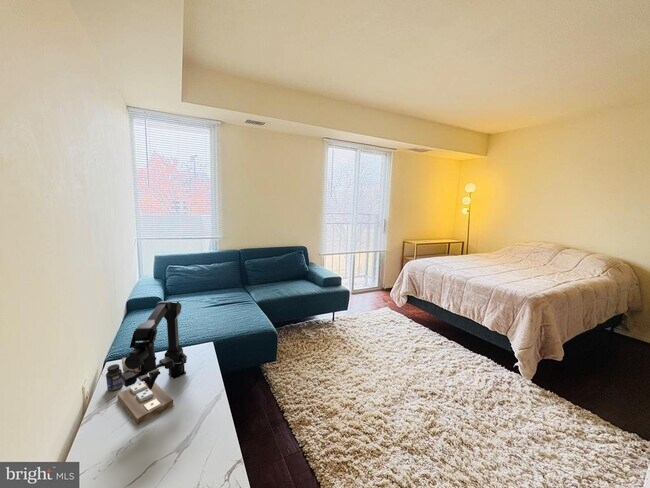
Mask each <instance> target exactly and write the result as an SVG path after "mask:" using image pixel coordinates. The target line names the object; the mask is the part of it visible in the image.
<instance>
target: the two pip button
mask: <svg viewBox="0 0 650 488" xmlns="http://www.w3.org/2000/svg"><path fill="white" fill-rule="evenodd" d="M143 382H144V381H143ZM143 382H141V381H140V382H139V383H135V384H132V385H130V386H129V388H130V392H131V393H132V394H133V395H135V394H137V393H139V392H141V391H144V390H146V385H145V384H144V383H143Z"/></svg>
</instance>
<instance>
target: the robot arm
mask: <svg viewBox="0 0 650 488" xmlns="http://www.w3.org/2000/svg"><path fill="white" fill-rule="evenodd" d="M181 312H182V304H181V302H179V301H165V300H164V301H158V302H157V303H156V307H155V308H154V310H153V311H152V313H151V314H150V315H149V317H148V318H147V319H146V320H145V321H144V322H142V323H140V324H139V325H138V326H137V327H136V328H135V329H134V331H133V333H132V337H131V341H130V345H129V349H133V350H131V351H129V355H128V356H127V357H125V358H126V359H125V365H126V367H127V368H129V369H136V368H138V370H140V372H138V373H136V372H134V371H129V372H126V373H124V374H122V376H121V383H122V384H123V386H124V387H125V388H128V387H131V386H133V385H136V384H137V381H138V380H139V381H140V382H145V383H146V385H147V387H148V389H149V390H151V389H152V387H153V385H154V382H155V383H156V380H157V378H158V377H159V375H161V371H160V369H161V368H164V369H166V370H168V376H170V377H171V378H172V379H176V378H179V377H181V376H184V375H185V374H187V371H186V370H185V364H186V363H187V359H188V356H187V355H186V354H185V353H184V349H183V348H182V346H181V345H180V340H179V321H178V319H179V316H180V314H181ZM163 318H164V319H165V321H166V326H167V327H166V329H167V331H166V333H167V343H168V344H167V345H168V346H167V349H166V351H165V353H164V358H162V359H160V360H159V361H158V363H157V362H156V361H157V357H156V353H155V351H156V350H155V341H156V340H157V338H156V337H157V334H158V329H157V328H158V326H159V324H160V323H161V322H162V319H163ZM156 363H157V364H156ZM137 379H138V380H137Z"/></svg>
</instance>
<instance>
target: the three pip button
mask: <svg viewBox="0 0 650 488" xmlns="http://www.w3.org/2000/svg"><path fill="white" fill-rule="evenodd" d="M136 397H137V400H138V401H139V402H140V403H141V402H143V401H145V400H147V399H149V398H151V397H153V393H152V391H151V390H149V389H146V390H144V391H142V392H140V393H138V394H136Z"/></svg>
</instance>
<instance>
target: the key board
mask: <svg viewBox="0 0 650 488" xmlns="http://www.w3.org/2000/svg"><path fill="white" fill-rule="evenodd" d="M143 383H144V384H145V385H146V383H145V382H144V381H143ZM146 389H148V387H147V385H146ZM151 391H152V393H153V397H151V398H149V399H147V400H145V401H143V402H141V403H140V402H139V401H138V400H137V397H136V394H135V395H133V394H132V393H131V392H130V387H129V388H127V389H126V390H125V389H124V390H123V391H121V392H118V393H117V400H118V401H119V402H120V404H121V406H123V408H124V409H125V410H126V412H127V413H128V414H129V416H130V417H131V418H132V420H133V421H134V422H135V423H136V425H138V426H139V425H141V424H143V423H144V422H146V421H149V420H150V419H152V418H153V417H155V416H157V415H159V414H161V413H163V412H165V411H167V410H169V409H170V408H172V407H174V406H175V404H174V399H173V398H172V397H171V396H170V395H169V394H168V393H167V392H166V391H165V390H164V389H162V388H161V387H160V386H159V385H158V384H157V382H156V381H155V382H154V385H153V387H152V389H151ZM141 392H142V391H141ZM139 393H140V392H139ZM137 394H138V393H137ZM154 399H157V400H158V401H159V402H160V403H161V405H159V406H157V407H155V408H153V409H151V410H149V411H147V410H146V409H145V408H144V406H143V405H144V404H146V403H148V402H150V401H152V400H154Z"/></svg>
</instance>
